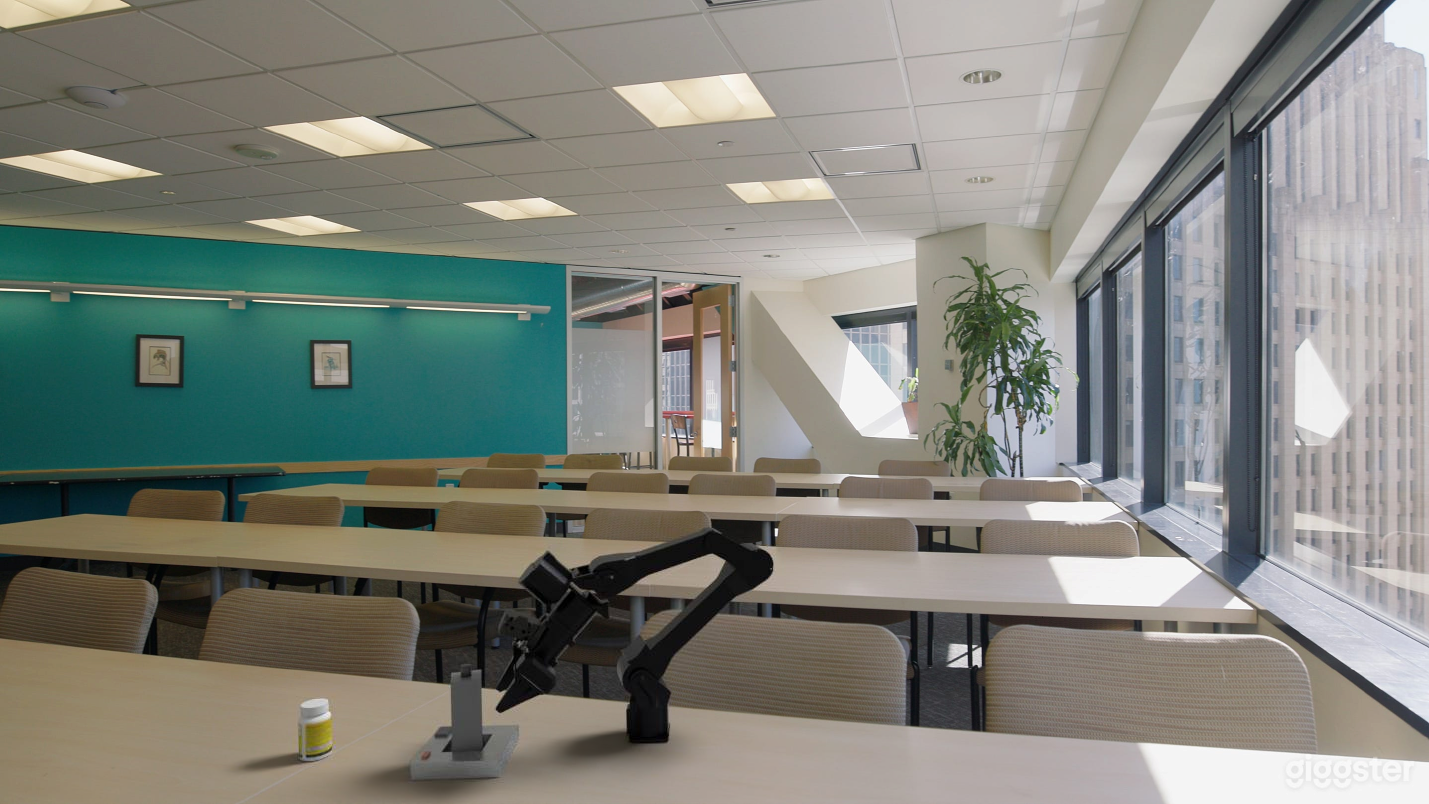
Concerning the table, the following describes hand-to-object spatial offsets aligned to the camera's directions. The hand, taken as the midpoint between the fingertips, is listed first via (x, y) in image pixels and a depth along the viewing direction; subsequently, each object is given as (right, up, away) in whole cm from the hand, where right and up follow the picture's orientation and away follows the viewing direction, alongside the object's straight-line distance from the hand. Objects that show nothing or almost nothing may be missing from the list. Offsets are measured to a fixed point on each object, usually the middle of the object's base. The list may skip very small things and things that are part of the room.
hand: (497, 700), depth 125 cm
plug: (-4, -9, -1) cm, 10 cm away
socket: (-4, -9, -1) cm, 10 cm away
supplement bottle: (-29, -10, +1) cm, 31 cm away
